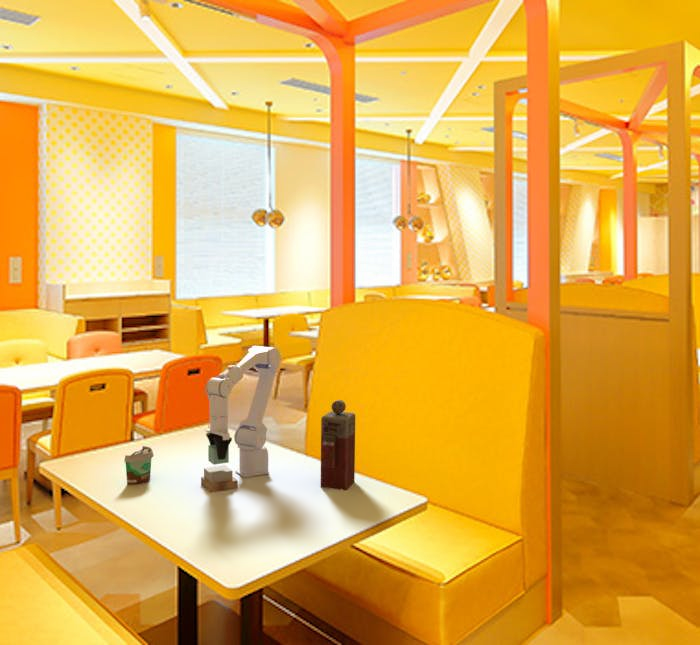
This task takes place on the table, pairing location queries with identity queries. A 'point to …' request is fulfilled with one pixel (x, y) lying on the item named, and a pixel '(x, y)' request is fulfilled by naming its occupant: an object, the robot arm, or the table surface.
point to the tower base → (219, 485)
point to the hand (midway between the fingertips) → (218, 456)
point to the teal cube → (214, 457)
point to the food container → (139, 466)
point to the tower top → (218, 474)
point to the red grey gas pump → (338, 448)
